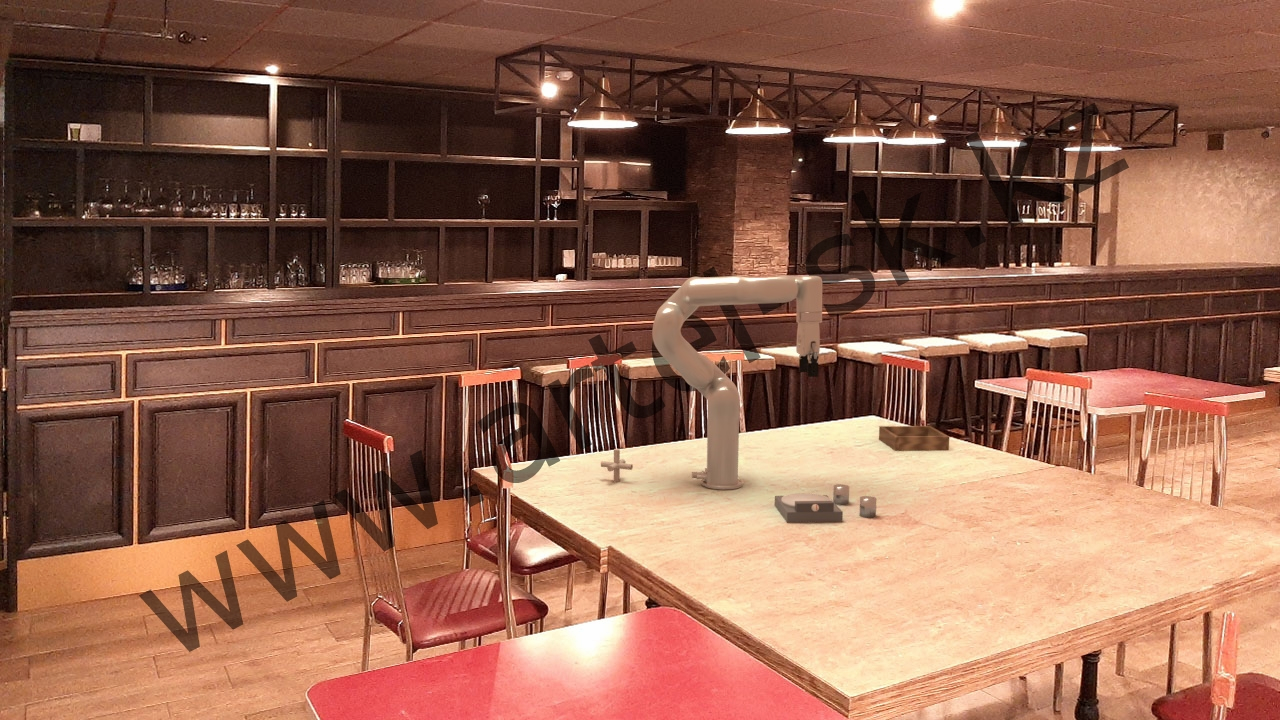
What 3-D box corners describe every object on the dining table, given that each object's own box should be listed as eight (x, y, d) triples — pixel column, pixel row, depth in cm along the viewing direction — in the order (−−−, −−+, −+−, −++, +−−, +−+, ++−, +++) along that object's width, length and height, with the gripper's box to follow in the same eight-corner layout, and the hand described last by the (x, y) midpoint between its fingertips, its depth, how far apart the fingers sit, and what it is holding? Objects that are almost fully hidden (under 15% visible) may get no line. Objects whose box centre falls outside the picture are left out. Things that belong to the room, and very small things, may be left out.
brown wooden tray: (895, 450, 363) (895, 437, 363) (878, 439, 383) (879, 426, 382) (948, 450, 365) (949, 436, 364) (929, 439, 384) (930, 426, 383)
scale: (787, 522, 274) (787, 503, 274) (774, 505, 292) (774, 487, 291) (842, 522, 276) (843, 503, 275) (826, 504, 293) (827, 486, 292)
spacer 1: (835, 505, 292) (835, 488, 291) (831, 501, 296) (831, 484, 296) (850, 505, 292) (851, 488, 292) (846, 501, 297) (846, 484, 296)
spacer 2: (861, 518, 279) (862, 500, 279) (857, 513, 284) (858, 496, 283) (877, 518, 280) (878, 500, 279) (873, 513, 284) (873, 495, 283)
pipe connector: (595, 483, 315) (595, 451, 314) (608, 476, 324) (608, 445, 323) (625, 486, 311) (625, 454, 310) (637, 479, 320) (637, 447, 319)
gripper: (789, 315, 315) (789, 370, 317) (804, 320, 298) (803, 378, 300) (813, 314, 315) (813, 370, 318) (829, 319, 298) (828, 378, 300)
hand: (808, 374), depth 309 cm, fingers open, 9 cm apart
